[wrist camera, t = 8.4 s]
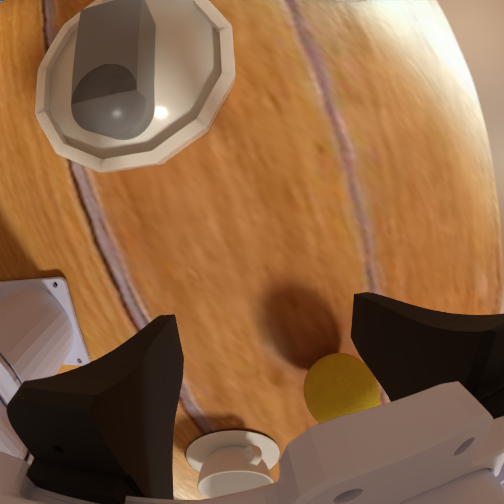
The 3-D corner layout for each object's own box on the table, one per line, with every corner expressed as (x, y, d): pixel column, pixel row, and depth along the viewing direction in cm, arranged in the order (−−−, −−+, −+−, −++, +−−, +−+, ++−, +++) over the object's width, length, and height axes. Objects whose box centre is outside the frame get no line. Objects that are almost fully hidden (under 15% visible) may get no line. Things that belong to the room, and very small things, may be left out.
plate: (51, 184, 18) (37, 186, 16) (57, 23, 14) (46, 14, 12) (239, 156, 19) (241, 154, 17) (227, -13, 16) (228, -27, 14)
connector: (101, 144, 17) (70, 138, 13) (107, 13, 14) (86, -15, 10) (155, 135, 17) (137, 125, 13) (157, 2, 14) (145, -31, 10)
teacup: (252, 481, 29) (257, 511, 24) (174, 464, 27) (171, 496, 22) (296, 437, 27) (306, 470, 22) (207, 415, 25) (206, 453, 20)
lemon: (282, 359, 24) (306, 429, 16) (340, 323, 23) (384, 382, 16) (311, 396, 25) (337, 460, 17) (362, 364, 25) (403, 421, 17)
